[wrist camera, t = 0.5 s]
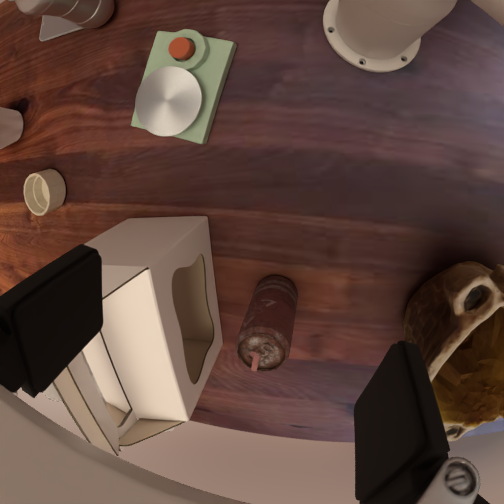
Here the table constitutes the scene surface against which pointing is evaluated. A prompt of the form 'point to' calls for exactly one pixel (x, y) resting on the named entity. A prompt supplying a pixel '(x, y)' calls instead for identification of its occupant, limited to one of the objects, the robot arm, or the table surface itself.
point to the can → (268, 325)
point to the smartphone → (56, 27)
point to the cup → (10, 126)
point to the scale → (202, 67)
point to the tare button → (181, 48)
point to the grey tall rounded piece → (71, 10)
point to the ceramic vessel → (462, 343)
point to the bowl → (44, 191)
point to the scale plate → (168, 101)
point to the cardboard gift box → (147, 332)
